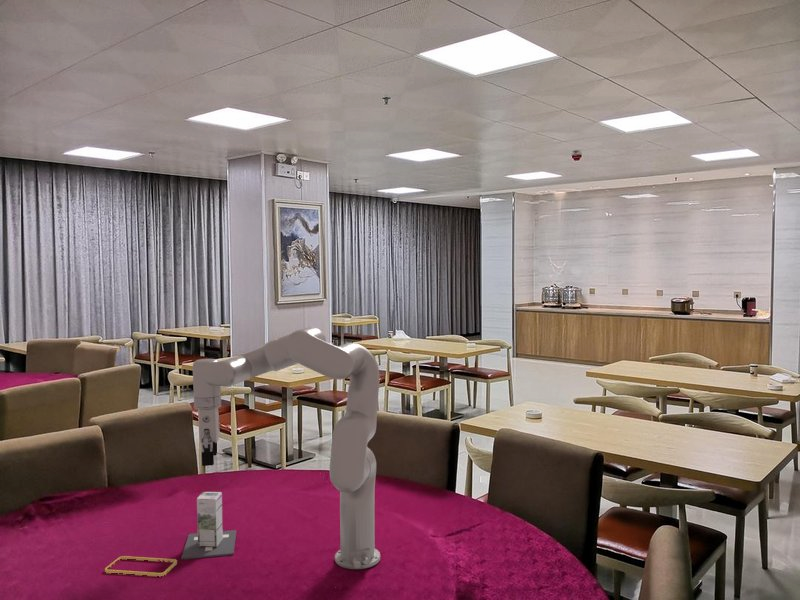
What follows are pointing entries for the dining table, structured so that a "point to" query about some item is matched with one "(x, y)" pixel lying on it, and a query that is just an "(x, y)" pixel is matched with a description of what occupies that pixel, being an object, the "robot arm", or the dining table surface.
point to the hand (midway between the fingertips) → (209, 460)
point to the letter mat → (200, 552)
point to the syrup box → (209, 519)
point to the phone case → (142, 572)
